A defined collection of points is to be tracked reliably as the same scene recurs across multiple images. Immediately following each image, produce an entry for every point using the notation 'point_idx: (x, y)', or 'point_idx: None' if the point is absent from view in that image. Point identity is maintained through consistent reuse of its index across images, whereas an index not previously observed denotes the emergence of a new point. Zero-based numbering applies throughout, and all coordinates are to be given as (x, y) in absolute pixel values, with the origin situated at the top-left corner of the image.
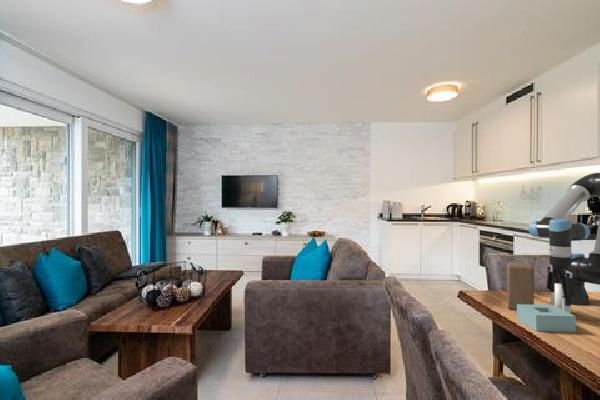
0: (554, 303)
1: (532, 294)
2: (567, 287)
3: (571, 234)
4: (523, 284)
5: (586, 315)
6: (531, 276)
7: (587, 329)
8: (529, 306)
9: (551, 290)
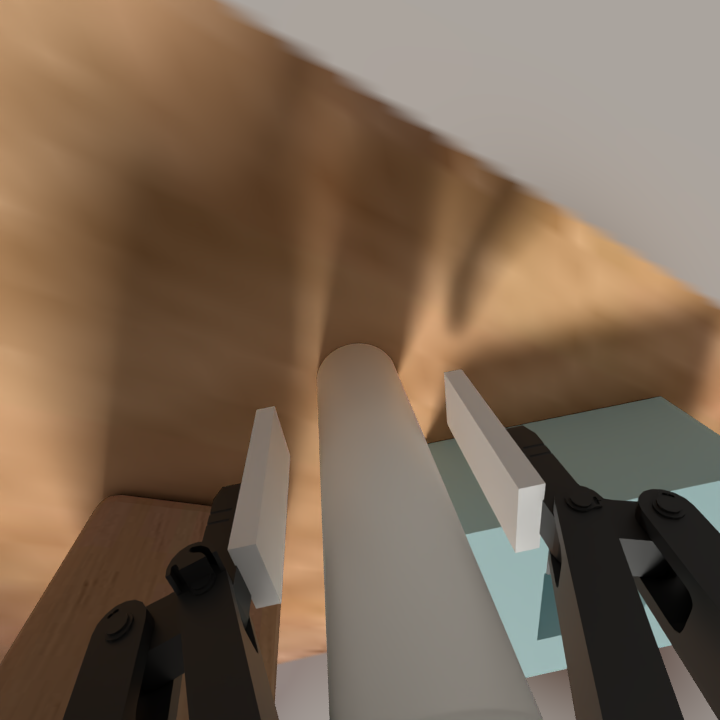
0: (282, 464)
1: (272, 669)
2: None
3: None
4: None
5: (203, 91)
6: None
7: (623, 302)
8: (515, 650)
9: (251, 626)
